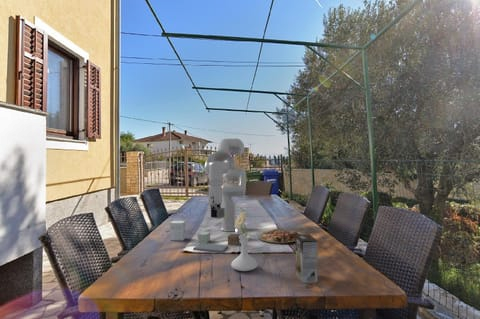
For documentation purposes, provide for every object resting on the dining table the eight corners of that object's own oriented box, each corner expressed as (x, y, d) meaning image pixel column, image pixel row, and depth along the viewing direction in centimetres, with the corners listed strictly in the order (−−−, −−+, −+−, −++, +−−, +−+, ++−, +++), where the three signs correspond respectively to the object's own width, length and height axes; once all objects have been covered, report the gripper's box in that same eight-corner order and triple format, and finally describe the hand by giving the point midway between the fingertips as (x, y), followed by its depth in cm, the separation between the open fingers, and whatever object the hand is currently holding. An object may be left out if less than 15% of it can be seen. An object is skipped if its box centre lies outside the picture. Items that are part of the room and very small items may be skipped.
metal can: (236, 237, 171) (236, 227, 171) (244, 237, 169) (244, 227, 169) (234, 239, 166) (234, 229, 166) (242, 240, 165) (242, 229, 165)
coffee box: (295, 273, 115) (294, 234, 115) (310, 273, 115) (310, 233, 115) (301, 283, 106) (301, 240, 106) (318, 282, 106) (318, 239, 106)
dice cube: (211, 217, 155) (211, 208, 156) (218, 216, 159) (218, 207, 159) (217, 218, 152) (217, 209, 152) (224, 217, 156) (224, 208, 156)
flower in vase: (232, 263, 127) (231, 208, 127) (257, 263, 126) (256, 208, 126) (230, 275, 114) (229, 213, 114) (258, 275, 113) (257, 213, 113)
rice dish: (250, 243, 163) (250, 234, 163) (268, 230, 187) (268, 222, 187) (297, 250, 150) (297, 239, 150) (310, 235, 174) (310, 226, 174)
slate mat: (200, 244, 155) (200, 243, 155) (227, 247, 151) (227, 245, 151) (193, 249, 147) (193, 247, 147) (222, 252, 142) (222, 250, 142)
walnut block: (231, 242, 161) (231, 233, 161) (239, 242, 159) (239, 234, 159) (227, 245, 155) (227, 236, 155) (236, 245, 154) (236, 236, 154)
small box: (186, 238, 170) (185, 220, 170) (183, 240, 164) (183, 222, 164) (173, 237, 171) (173, 220, 171) (170, 240, 165) (169, 222, 165)
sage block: (202, 239, 166) (202, 231, 166) (210, 240, 165) (210, 232, 165) (198, 242, 160) (198, 234, 160) (206, 243, 159) (206, 234, 159)
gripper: (215, 182, 166) (215, 213, 165) (203, 184, 149) (203, 218, 149) (227, 182, 164) (227, 213, 163) (216, 184, 147) (216, 219, 147)
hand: (216, 215), depth 156 cm, fingers closed on dice cube, 6 cm apart
